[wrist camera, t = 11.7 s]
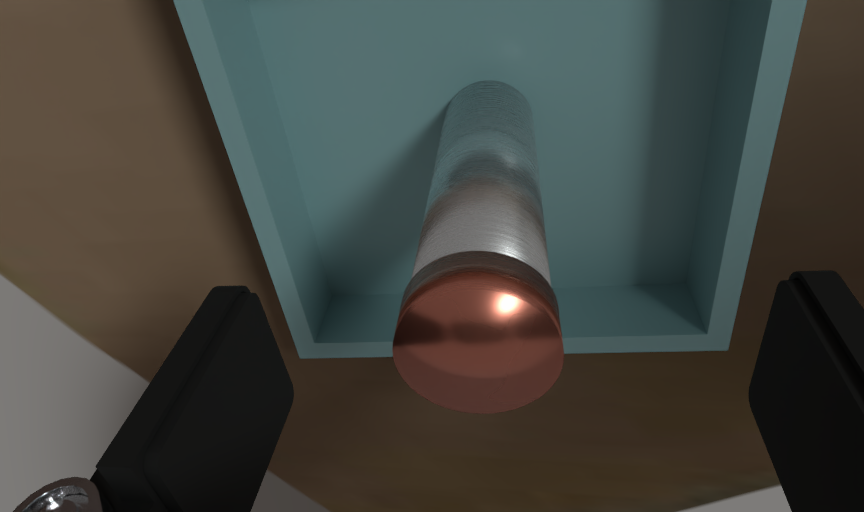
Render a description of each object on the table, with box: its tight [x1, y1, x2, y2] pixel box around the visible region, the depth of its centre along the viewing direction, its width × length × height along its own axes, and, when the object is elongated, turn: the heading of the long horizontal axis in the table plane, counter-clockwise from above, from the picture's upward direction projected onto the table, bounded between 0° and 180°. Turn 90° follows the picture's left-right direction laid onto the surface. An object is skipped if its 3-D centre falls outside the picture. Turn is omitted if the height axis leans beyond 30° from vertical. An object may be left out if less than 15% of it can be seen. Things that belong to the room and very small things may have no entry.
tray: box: [173, 0, 807, 359], centre depth 19 cm, size 16×16×4 cm
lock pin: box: [392, 80, 564, 414], centre depth 15 cm, size 3×3×11 cm
